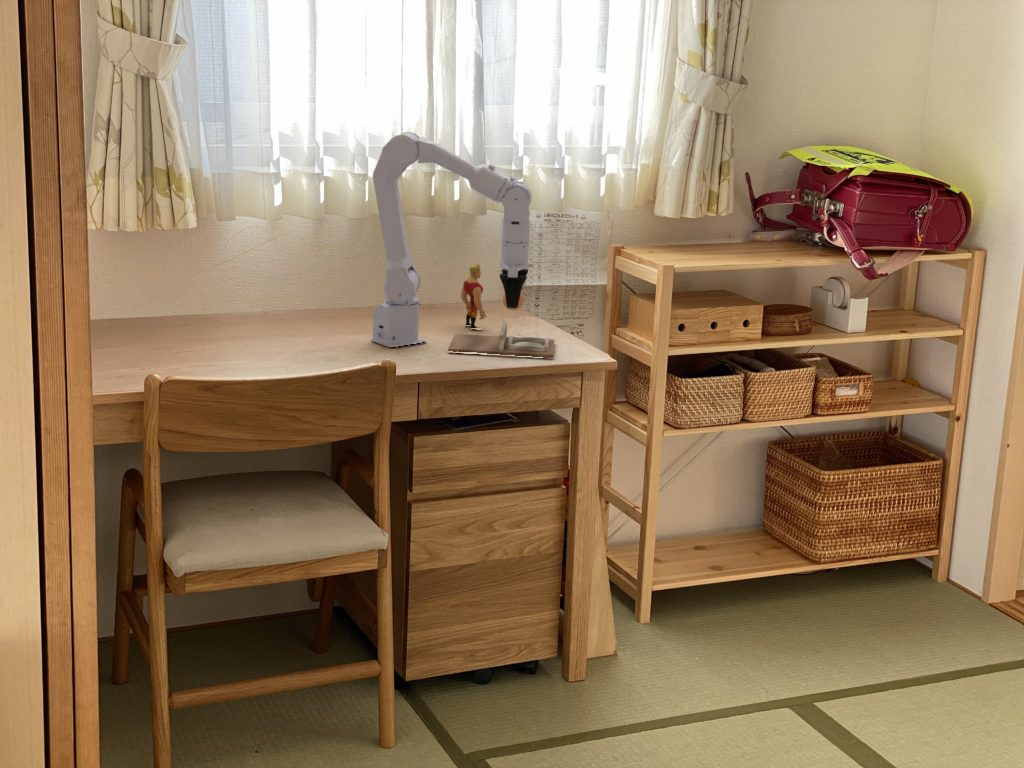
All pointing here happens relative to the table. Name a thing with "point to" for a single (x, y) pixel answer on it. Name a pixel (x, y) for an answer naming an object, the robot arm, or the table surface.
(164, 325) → the table surface
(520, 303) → the ball
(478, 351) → the board
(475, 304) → the action figure
